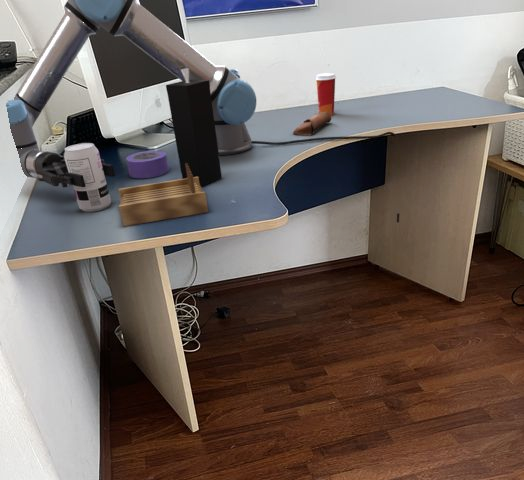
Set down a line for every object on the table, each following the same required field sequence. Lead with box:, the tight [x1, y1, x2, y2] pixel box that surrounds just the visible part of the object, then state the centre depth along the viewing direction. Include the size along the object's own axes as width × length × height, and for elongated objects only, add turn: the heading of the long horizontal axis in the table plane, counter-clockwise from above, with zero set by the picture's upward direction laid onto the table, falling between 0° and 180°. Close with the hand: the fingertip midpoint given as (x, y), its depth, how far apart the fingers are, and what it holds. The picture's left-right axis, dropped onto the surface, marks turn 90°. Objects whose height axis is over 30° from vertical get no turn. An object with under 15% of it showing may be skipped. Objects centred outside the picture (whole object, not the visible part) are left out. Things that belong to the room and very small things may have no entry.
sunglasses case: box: [292, 112, 332, 136], centre depth 185 cm, size 18×7×7 cm, turn 155°
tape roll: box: [125, 150, 170, 180], centre depth 156 cm, size 12×12×5 cm
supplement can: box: [63, 142, 112, 213], centre depth 131 cm, size 8×8×15 cm
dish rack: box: [118, 163, 209, 227], centre depth 126 cm, size 20×14×9 cm
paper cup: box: [315, 72, 337, 116], centre depth 200 cm, size 8×8×14 cm
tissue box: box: [165, 68, 223, 187], centre depth 138 cm, size 8×8×28 cm
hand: (98, 176), depth 128 cm, fingers closed on supplement can, 8 cm apart
